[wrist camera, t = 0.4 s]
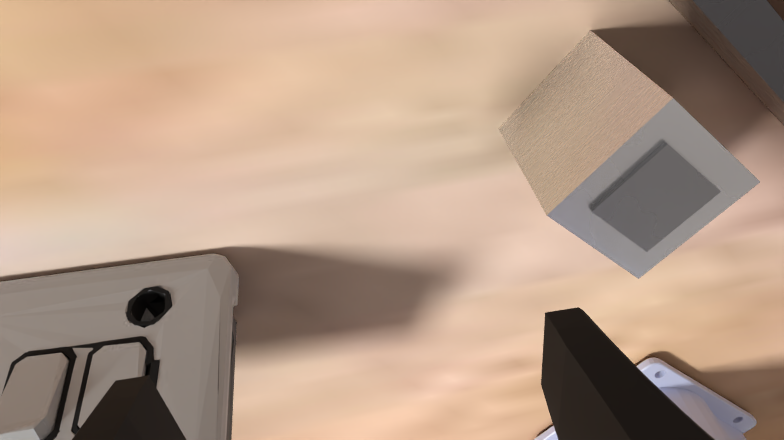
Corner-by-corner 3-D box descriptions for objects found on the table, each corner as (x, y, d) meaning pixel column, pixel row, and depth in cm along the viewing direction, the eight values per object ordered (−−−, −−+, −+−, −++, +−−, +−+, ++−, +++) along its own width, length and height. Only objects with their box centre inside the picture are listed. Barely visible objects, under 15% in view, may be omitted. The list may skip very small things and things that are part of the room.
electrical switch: (235, 244, 20) (197, 514, 14) (267, 331, 24) (249, 582, 17) (-29, 278, 20) (-206, 571, 13) (42, 361, 24) (-69, 628, 17)
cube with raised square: (666, 102, 19) (764, 185, 15) (575, 186, 20) (640, 281, 16) (590, 29, 17) (676, 100, 13) (498, 127, 19) (548, 218, 15)
